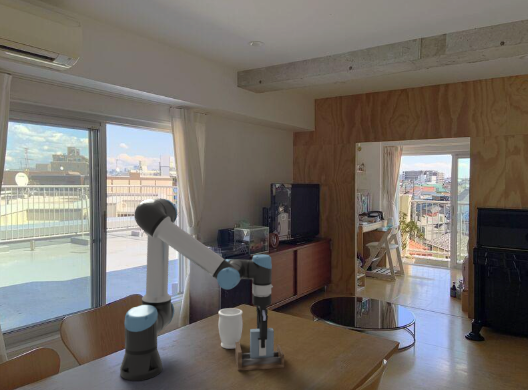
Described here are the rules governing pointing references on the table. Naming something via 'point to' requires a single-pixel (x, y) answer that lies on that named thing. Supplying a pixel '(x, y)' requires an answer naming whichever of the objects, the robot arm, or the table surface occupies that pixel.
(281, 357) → the wooden rod frame
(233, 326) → the jar
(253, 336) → the blue-gray rectangular block
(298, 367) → the table surface
